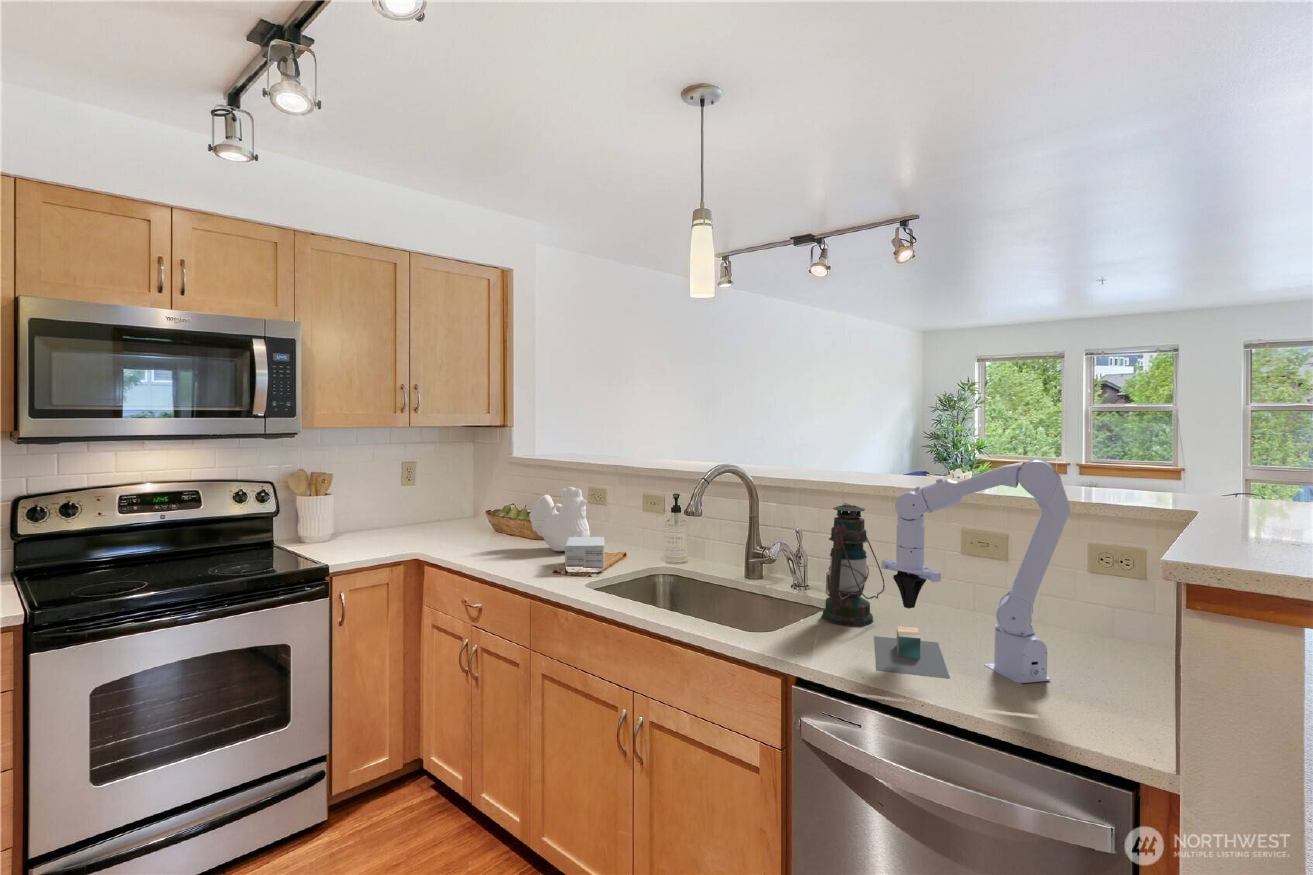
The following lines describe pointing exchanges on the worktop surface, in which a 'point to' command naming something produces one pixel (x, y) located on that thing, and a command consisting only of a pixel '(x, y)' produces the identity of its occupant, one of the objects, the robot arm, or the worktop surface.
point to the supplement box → (585, 552)
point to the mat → (910, 659)
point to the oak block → (908, 642)
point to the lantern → (848, 570)
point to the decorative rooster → (560, 518)
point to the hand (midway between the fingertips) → (909, 607)
